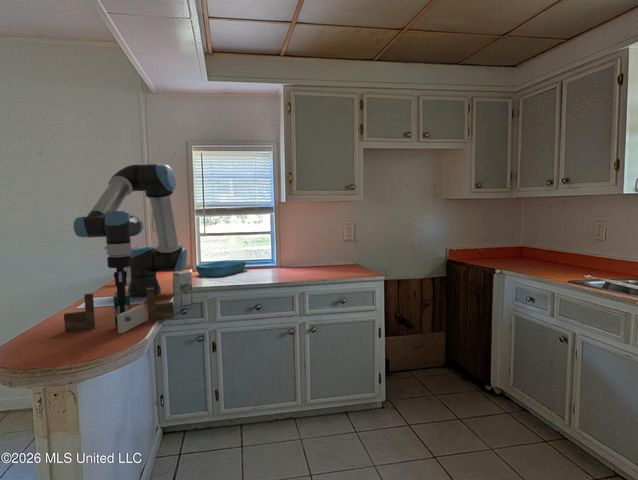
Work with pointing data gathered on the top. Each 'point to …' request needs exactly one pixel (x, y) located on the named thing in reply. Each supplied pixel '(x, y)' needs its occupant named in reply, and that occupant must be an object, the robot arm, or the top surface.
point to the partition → (87, 318)
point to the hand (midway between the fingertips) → (123, 321)
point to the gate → (131, 318)
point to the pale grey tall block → (128, 271)
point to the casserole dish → (220, 268)
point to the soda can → (117, 306)
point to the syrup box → (182, 288)
